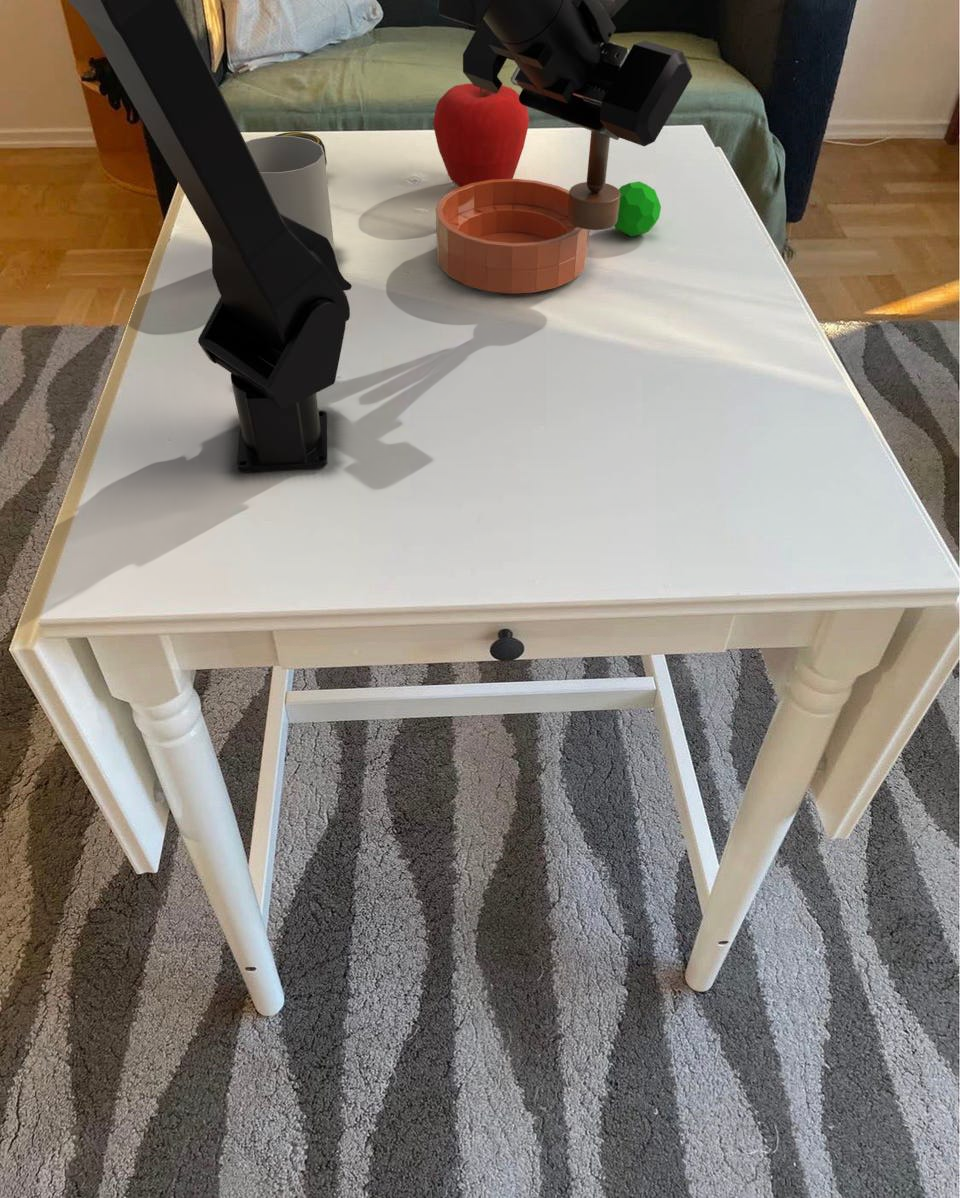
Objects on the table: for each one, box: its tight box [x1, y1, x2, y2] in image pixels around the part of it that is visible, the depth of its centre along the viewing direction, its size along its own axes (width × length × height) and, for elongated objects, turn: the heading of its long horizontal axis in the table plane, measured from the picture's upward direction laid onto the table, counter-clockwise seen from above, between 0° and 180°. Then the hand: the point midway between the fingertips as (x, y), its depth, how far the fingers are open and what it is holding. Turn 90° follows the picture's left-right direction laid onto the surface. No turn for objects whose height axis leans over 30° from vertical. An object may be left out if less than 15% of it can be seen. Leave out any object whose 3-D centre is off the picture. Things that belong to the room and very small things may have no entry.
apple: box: [432, 82, 530, 188], centre depth 99 cm, size 10×10×11 cm
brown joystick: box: [567, 40, 620, 231], centre depth 79 cm, size 4×4×14 cm
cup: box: [245, 135, 336, 254], centre depth 88 cm, size 8×8×10 cm
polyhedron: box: [613, 181, 662, 237], centre depth 95 cm, size 5×5×5 cm
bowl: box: [435, 178, 590, 294], centre depth 90 cm, size 14×14×5 cm
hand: (610, 130), depth 79 cm, fingers closed on brown joystick, 2 cm apart
